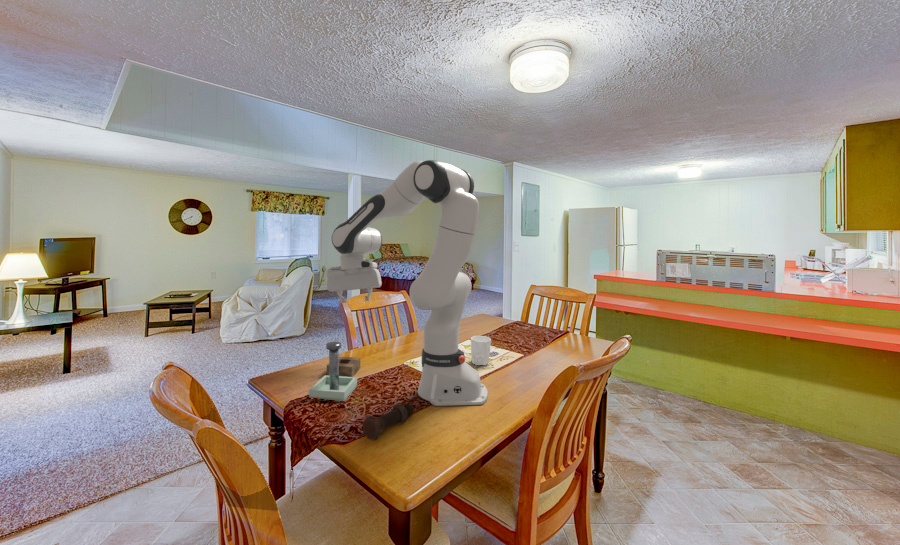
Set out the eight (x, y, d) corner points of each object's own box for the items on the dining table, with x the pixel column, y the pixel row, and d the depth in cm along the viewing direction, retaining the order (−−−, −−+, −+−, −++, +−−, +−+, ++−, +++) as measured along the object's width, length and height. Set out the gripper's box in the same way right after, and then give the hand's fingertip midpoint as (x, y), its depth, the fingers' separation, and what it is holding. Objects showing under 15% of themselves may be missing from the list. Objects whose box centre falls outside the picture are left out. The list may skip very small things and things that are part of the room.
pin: (343, 387, 114) (343, 342, 112) (338, 393, 110) (337, 346, 108) (330, 386, 115) (329, 341, 113) (324, 392, 110) (323, 345, 108)
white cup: (490, 367, 137) (492, 342, 136) (470, 366, 137) (471, 341, 136) (488, 359, 145) (490, 335, 144) (469, 359, 145) (470, 335, 144)
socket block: (360, 368, 132) (360, 357, 132) (351, 377, 124) (351, 366, 123) (336, 366, 133) (336, 356, 133) (326, 376, 124) (326, 365, 124)
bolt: (412, 421, 100) (371, 444, 88) (401, 408, 102) (359, 428, 90) (420, 407, 98) (379, 429, 86) (409, 394, 100) (367, 413, 88)
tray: (357, 386, 117) (357, 377, 117) (344, 401, 106) (344, 392, 106) (324, 383, 118) (324, 375, 118) (309, 399, 107) (309, 389, 107)
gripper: (322, 267, 132) (325, 304, 131) (376, 262, 130) (379, 299, 130) (330, 268, 138) (332, 303, 138) (381, 263, 137) (384, 299, 136)
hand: (355, 301), depth 134 cm, fingers open, 8 cm apart
